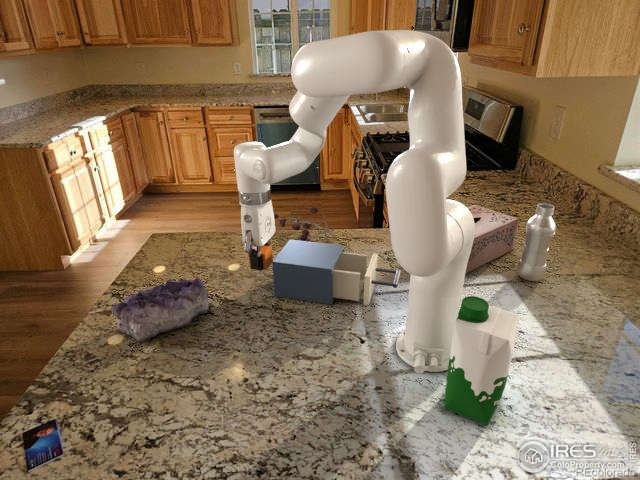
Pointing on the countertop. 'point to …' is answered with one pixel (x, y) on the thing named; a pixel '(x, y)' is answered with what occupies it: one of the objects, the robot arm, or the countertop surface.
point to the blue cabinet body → (306, 271)
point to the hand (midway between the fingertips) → (261, 263)
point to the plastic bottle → (537, 243)
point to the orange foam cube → (265, 256)
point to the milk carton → (479, 359)
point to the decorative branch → (305, 225)
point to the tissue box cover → (490, 235)
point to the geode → (161, 308)
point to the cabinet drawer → (358, 277)
